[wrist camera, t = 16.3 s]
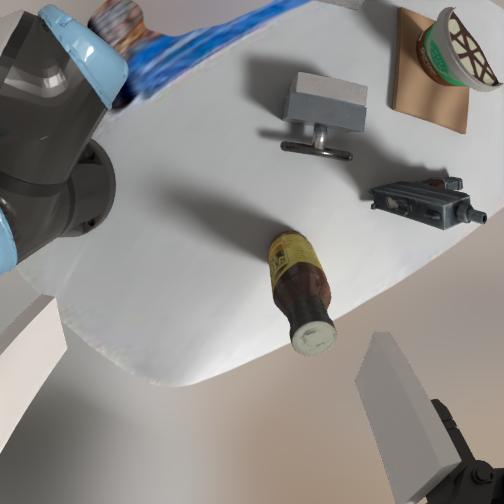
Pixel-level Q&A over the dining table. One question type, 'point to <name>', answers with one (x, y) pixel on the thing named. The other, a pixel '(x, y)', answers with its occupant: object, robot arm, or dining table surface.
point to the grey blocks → (325, 106)
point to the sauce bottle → (301, 293)
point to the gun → (428, 202)
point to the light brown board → (424, 81)
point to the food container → (454, 55)
